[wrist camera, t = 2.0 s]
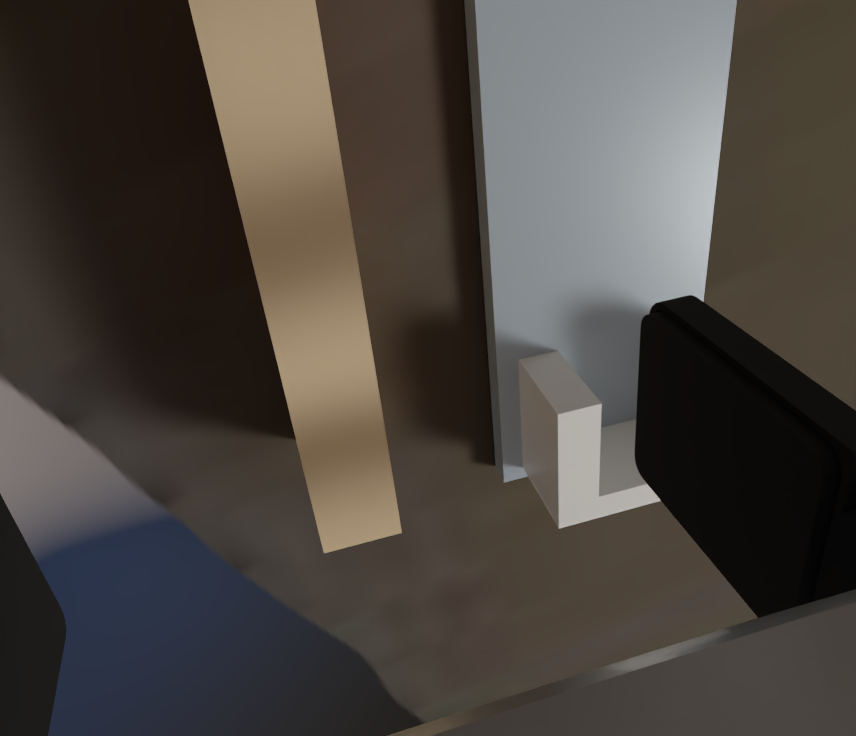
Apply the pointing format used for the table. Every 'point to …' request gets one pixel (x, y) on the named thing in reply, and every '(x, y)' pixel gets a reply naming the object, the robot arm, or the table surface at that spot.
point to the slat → (302, 252)
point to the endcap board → (588, 220)
